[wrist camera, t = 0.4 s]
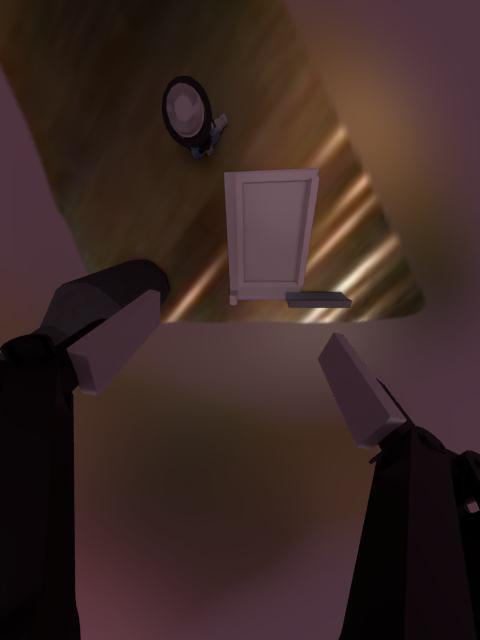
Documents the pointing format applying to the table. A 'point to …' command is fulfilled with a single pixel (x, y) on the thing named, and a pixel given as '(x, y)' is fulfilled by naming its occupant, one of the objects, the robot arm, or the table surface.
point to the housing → (269, 231)
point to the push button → (191, 116)
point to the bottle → (99, 297)
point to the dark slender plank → (317, 300)
